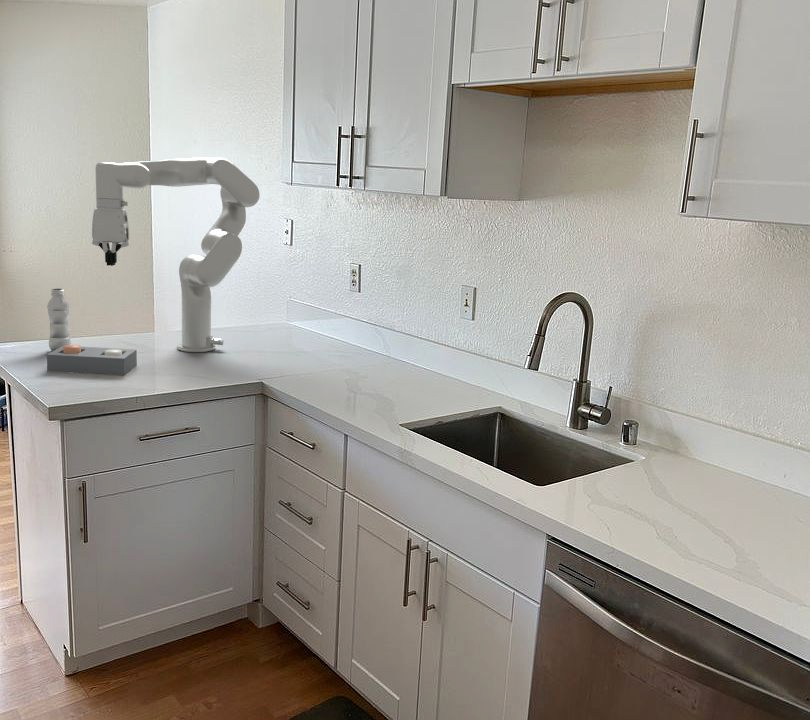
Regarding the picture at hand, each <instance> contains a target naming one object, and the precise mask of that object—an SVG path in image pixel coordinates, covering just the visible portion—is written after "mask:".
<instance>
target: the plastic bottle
mask: <svg viewBox="0 0 810 720" xmlns="http://www.w3.org/2000/svg"><path fill="white" fill-rule="evenodd" d="M50 291H51V293H50V294H51V295H50V296H51V298H50V299H49V301H48V302H47V305H46V308H47V314H48V318H49V319H48V321H49V339H48V347H49V349H50V351H51V352H52V351H54V350H56V349H58V348H60V347H61V346H65V345H72V340H71V337H70V331H69V311H70V304H69V301H68V300H67V299H66V298H65V297H64V296H65V288H51V290H50Z"/></svg>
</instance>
